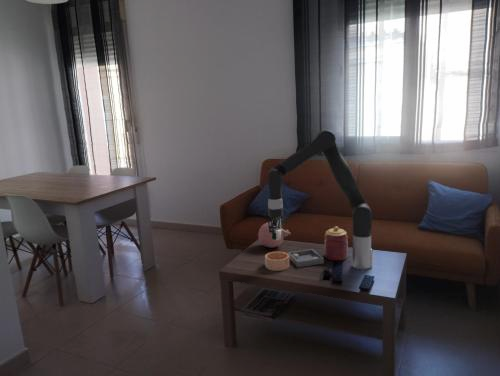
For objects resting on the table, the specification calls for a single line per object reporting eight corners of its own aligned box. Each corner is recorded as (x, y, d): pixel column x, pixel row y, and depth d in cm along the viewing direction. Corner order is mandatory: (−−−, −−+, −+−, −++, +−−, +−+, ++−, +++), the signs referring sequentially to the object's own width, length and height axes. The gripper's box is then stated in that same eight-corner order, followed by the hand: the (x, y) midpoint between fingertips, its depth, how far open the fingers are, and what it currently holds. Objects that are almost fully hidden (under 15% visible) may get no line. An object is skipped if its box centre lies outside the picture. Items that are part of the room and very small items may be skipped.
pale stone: (279, 236, 220) (279, 227, 219) (282, 239, 216) (282, 230, 215) (270, 237, 219) (270, 228, 218) (273, 240, 214) (273, 231, 213)
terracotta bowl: (284, 260, 228) (284, 250, 227) (292, 268, 216) (292, 258, 215) (262, 263, 225) (262, 253, 224) (269, 272, 213) (269, 261, 212)
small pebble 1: (297, 256, 231) (297, 253, 231) (299, 258, 228) (298, 255, 227) (292, 256, 231) (292, 253, 230) (293, 259, 228) (293, 255, 227)
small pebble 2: (317, 259, 225) (317, 256, 225) (319, 261, 222) (319, 258, 222) (312, 260, 225) (312, 256, 224) (313, 262, 222) (313, 259, 221)
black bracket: (318, 272, 212) (318, 264, 211) (333, 272, 210) (333, 264, 210) (319, 282, 199) (319, 273, 199) (334, 283, 198) (334, 274, 197)
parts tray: (312, 253, 235) (312, 248, 235) (323, 263, 221) (323, 258, 221) (288, 257, 232) (287, 252, 231) (297, 267, 218) (297, 262, 217)
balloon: (286, 253, 238) (285, 228, 235) (254, 249, 246) (253, 225, 243) (294, 244, 252) (294, 220, 248) (264, 241, 260) (263, 218, 257)
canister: (347, 261, 222) (347, 230, 218) (323, 260, 225) (323, 229, 222) (348, 253, 234) (348, 223, 231) (325, 251, 238) (325, 222, 234)
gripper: (275, 202, 222) (276, 233, 225) (262, 209, 210) (263, 241, 213) (287, 204, 218) (288, 234, 221) (275, 210, 206) (276, 243, 209)
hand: (276, 237), depth 217 cm, fingers closed on pale stone, 5 cm apart
